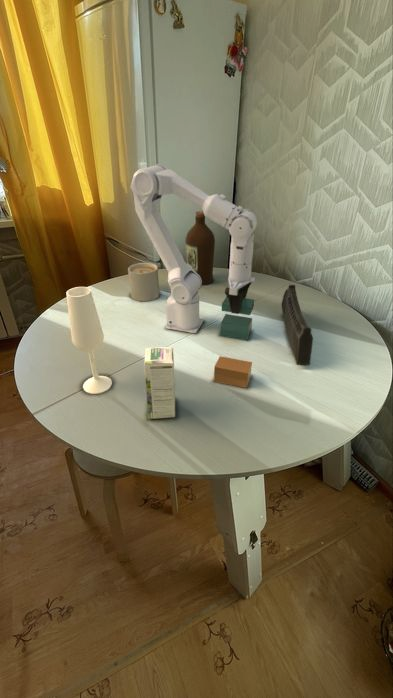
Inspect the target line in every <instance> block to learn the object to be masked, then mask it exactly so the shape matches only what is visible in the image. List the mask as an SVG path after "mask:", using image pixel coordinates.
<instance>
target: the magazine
mask: <svg viewBox="0 0 393 698" xmlns="http://www.w3.org/2000/svg"><path fill="white" fill-rule="evenodd" d="M281 312H282V317H283V323H284V329H285V332H286V337H287V340H288V343H289V344H288V345H289V346H290V349H291V352H292V355H293V357H294V360H295V362H296V365H297V366H298V365H299V366H304V367H306V366H310V365H311V359H312V352H313V351H312V350H313V344H314V343H313V342H314V337H313V334H312V328H311V327H309V325H308V323H307V322H306V319H305V317H304V315H303V312H302V310H301V306H300V302H299V300H298V295H297V290H296V284H289V285H288V286H287V289H286V290H285V291H284V293H283V296H282V301H281Z"/></svg>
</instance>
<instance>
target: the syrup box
mask: <svg viewBox="0 0 393 698" xmlns="http://www.w3.org/2000/svg"><path fill="white" fill-rule="evenodd" d="M144 353H145V354H144V363H143V368H144V379H145V391H146V394H145V395H146V404H147V417H148V419H149V420H154V419H155V420H156V419H168V418H169V419H170V418H175V417H176V388H175V385H176V384H175V380H176V379H175V357H174V355H175V354H174V347H165V346H162V347H161V346H159V347H156V346H155V347H147V348H145V352H144Z"/></svg>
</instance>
